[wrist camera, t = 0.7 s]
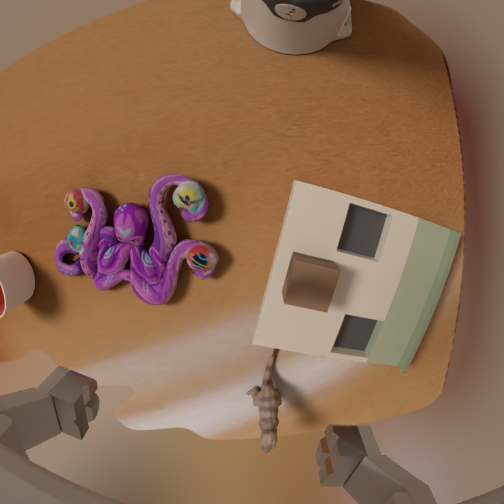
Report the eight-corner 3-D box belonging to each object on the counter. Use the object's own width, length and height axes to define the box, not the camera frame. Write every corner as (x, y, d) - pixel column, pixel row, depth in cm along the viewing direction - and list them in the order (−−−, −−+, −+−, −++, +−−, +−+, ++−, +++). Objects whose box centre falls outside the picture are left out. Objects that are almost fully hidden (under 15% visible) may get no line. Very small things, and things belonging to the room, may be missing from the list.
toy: (259, 444, 49) (254, 458, 40) (239, 357, 56) (230, 355, 47) (297, 436, 49) (300, 449, 40) (277, 349, 56) (275, 345, 46)
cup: (-1, 254, 47) (-33, 268, 37) (28, 245, 46) (-6, 259, 36) (14, 300, 49) (-16, 319, 39) (44, 295, 49) (13, 317, 39)
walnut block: (292, 251, 43) (296, 260, 39) (333, 261, 43) (341, 270, 39) (281, 291, 44) (284, 303, 40) (320, 299, 45) (327, 312, 40)
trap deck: (293, 180, 43) (297, 180, 39) (446, 228, 44) (461, 233, 40) (252, 335, 49) (252, 350, 45) (396, 359, 50) (405, 372, 46)
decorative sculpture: (215, 307, 49) (231, 179, 43) (210, 322, 44) (226, 181, 38) (64, 276, 49) (63, 165, 43) (50, 286, 44) (46, 167, 38)
